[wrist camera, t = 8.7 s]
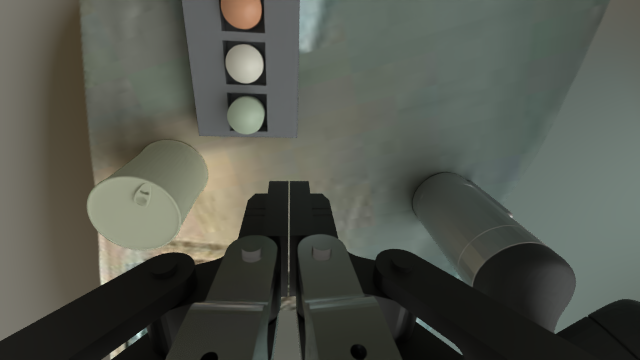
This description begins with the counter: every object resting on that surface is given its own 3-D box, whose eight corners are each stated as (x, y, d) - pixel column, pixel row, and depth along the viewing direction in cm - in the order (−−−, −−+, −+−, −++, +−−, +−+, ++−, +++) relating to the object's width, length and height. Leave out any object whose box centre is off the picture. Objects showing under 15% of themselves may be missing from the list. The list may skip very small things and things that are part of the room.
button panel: (299, -18, 33) (299, -23, 30) (296, 131, 40) (297, 137, 37) (187, -26, 32) (177, -32, 29) (205, 129, 39) (199, 135, 36)
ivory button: (264, 44, 34) (262, 45, 32) (265, 80, 36) (263, 84, 33) (229, 43, 34) (223, 43, 31) (231, 79, 36) (227, 82, 33)
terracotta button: (262, -11, 32) (260, -15, 29) (263, 30, 34) (261, 29, 31) (224, -14, 32) (218, -18, 29) (228, 28, 33) (222, 27, 31)
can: (218, 158, 41) (192, 201, 30) (194, 209, 44) (163, 264, 33) (150, 127, 38) (95, 162, 27) (130, 183, 41) (73, 235, 30)
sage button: (264, 95, 35) (262, 100, 33) (265, 127, 37) (263, 134, 34) (230, 94, 35) (225, 98, 32) (233, 127, 37) (228, 133, 34)
